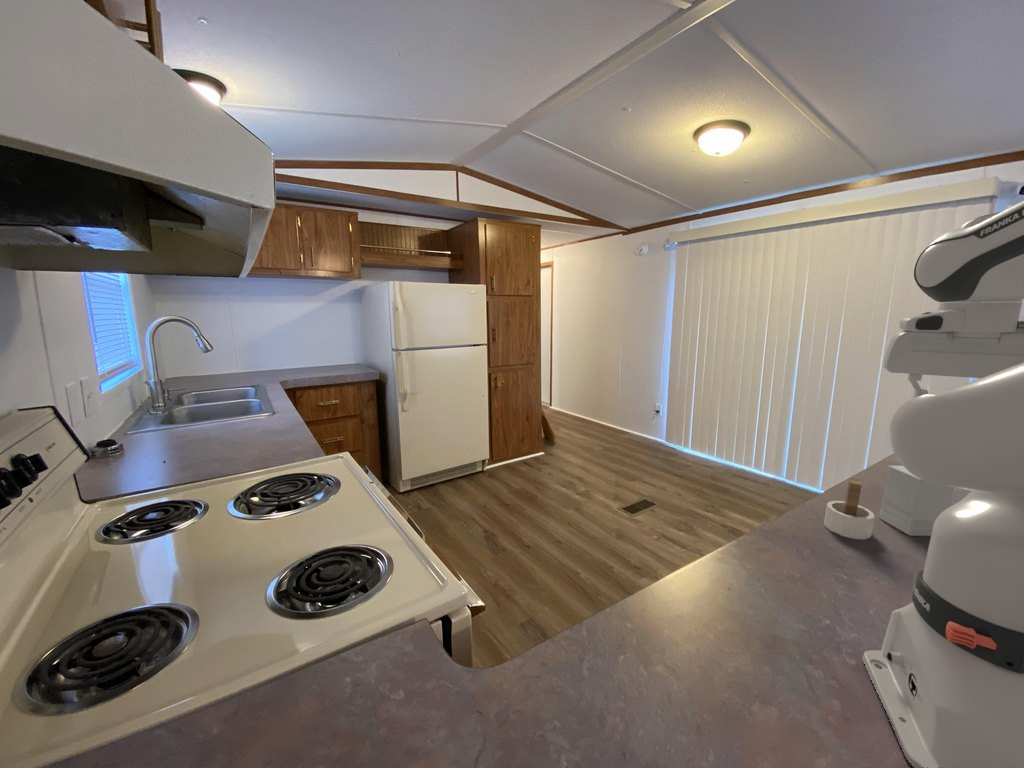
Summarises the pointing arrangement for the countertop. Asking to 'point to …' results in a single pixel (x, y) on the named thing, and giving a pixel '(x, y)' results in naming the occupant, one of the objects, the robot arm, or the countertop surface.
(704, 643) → the countertop surface
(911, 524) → the supplement box
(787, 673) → the countertop surface
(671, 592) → the countertop surface
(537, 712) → the countertop surface
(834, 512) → the faceted white cup
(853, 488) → the brown rectangular block
